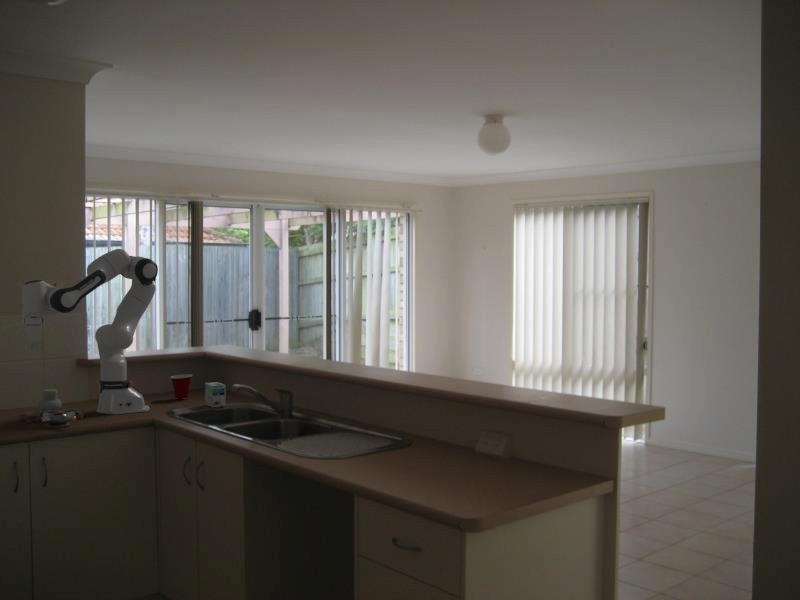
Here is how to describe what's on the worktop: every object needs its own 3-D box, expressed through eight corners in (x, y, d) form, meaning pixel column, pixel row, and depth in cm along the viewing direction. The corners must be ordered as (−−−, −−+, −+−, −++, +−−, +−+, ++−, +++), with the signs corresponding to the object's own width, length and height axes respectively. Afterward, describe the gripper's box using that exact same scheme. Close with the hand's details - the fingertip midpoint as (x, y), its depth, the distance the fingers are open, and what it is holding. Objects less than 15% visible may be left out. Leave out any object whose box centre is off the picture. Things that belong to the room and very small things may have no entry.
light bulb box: (226, 407, 357) (226, 384, 357) (212, 408, 353) (212, 385, 353) (217, 403, 366) (217, 381, 366) (204, 405, 362) (204, 382, 362)
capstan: (19, 424, 303) (19, 413, 303) (61, 416, 321) (61, 405, 321) (54, 430, 295) (54, 418, 295) (95, 421, 313) (95, 410, 312)
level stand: (82, 414, 333) (82, 405, 333) (83, 418, 324) (83, 408, 324) (27, 418, 324) (27, 408, 324) (26, 422, 315) (26, 412, 315)
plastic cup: (172, 397, 382) (172, 373, 382) (194, 397, 383) (194, 373, 383) (167, 401, 371) (167, 376, 371) (190, 401, 373) (190, 376, 372)
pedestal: (69, 423, 314) (69, 421, 314) (70, 427, 306) (70, 425, 306) (45, 425, 310) (45, 422, 310) (45, 429, 302) (45, 426, 302)
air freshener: (62, 413, 335) (62, 391, 335) (41, 415, 331) (41, 392, 330) (58, 409, 344) (58, 387, 344) (38, 411, 340) (38, 389, 340)
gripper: (26, 317, 322) (26, 350, 322) (24, 320, 303) (24, 355, 304) (42, 317, 324) (42, 349, 325) (42, 320, 306) (42, 354, 306)
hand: (34, 352), depth 314 cm, fingers closed
